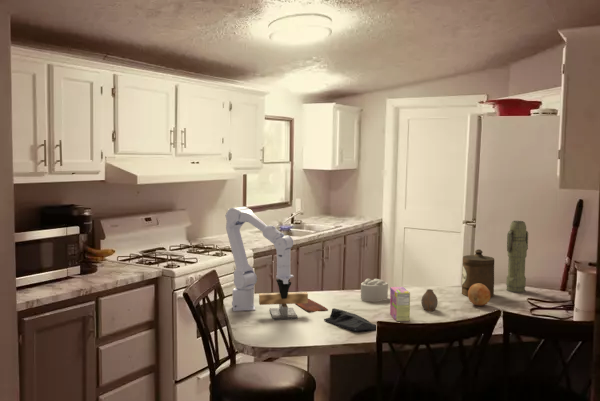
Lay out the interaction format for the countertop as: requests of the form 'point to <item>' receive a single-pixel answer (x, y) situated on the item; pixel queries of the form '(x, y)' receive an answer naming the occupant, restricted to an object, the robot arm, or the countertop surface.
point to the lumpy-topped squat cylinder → (374, 290)
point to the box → (400, 303)
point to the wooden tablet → (312, 306)
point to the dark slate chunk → (349, 321)
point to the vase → (429, 300)
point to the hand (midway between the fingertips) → (283, 297)
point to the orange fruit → (479, 294)
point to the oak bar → (276, 299)
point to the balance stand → (283, 313)
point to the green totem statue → (517, 256)
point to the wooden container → (478, 272)
